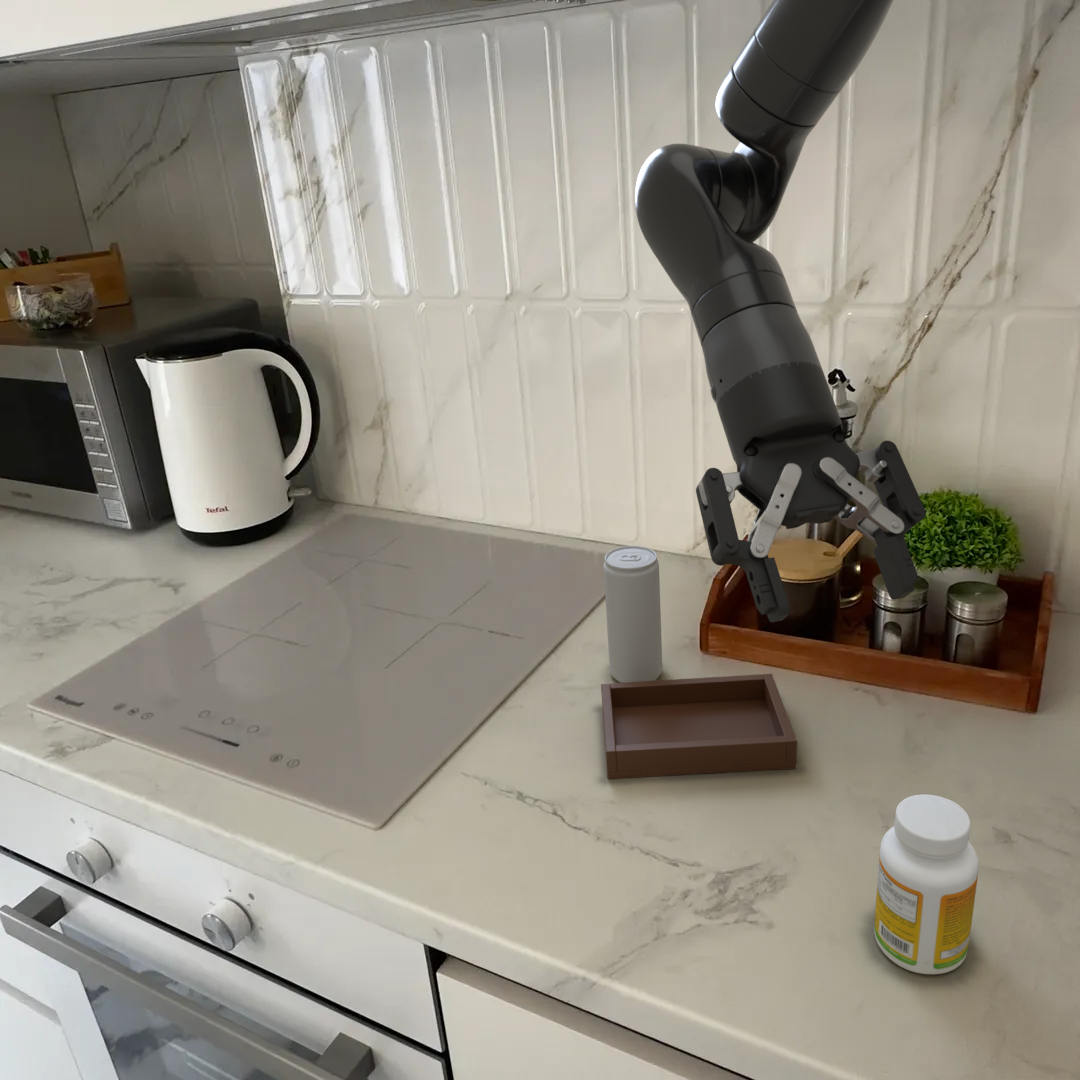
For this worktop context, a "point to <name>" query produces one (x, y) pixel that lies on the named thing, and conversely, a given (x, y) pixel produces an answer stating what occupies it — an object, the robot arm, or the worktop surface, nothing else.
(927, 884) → the supplement bottle
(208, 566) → the worktop surface
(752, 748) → the tray
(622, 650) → the beverage can
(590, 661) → the worktop surface
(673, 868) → the worktop surface
